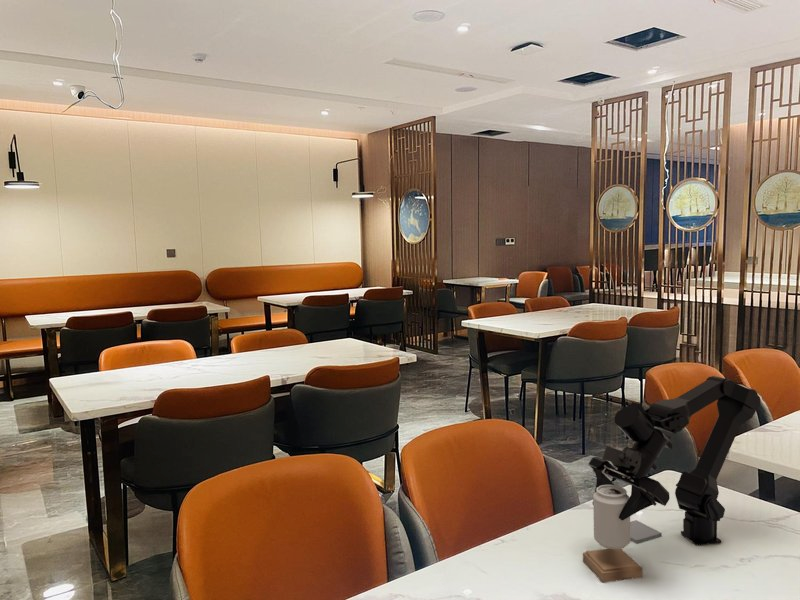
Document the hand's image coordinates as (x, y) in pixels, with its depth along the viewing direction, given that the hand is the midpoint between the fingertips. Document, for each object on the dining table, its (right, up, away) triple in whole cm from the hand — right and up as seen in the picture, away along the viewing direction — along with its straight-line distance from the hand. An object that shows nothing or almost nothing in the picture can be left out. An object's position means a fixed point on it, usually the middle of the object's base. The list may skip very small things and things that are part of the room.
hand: (606, 512), depth 132 cm
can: (+2, -7, +1) cm, 8 cm away
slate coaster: (+13, -11, +18) cm, 25 cm away
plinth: (+2, -13, +2) cm, 13 cm away
